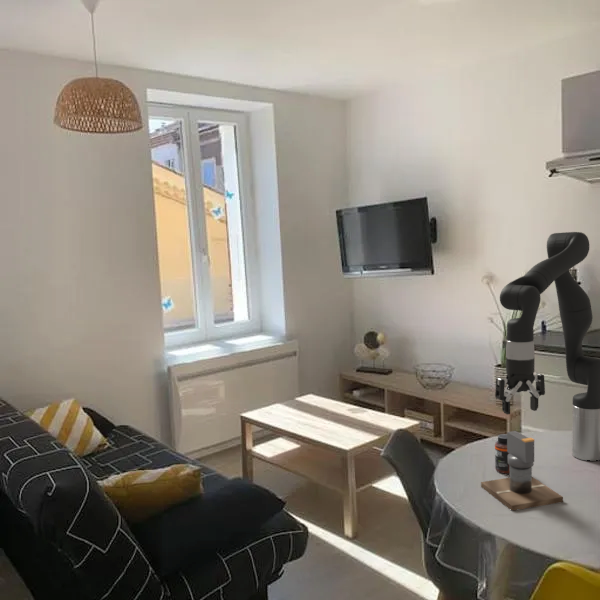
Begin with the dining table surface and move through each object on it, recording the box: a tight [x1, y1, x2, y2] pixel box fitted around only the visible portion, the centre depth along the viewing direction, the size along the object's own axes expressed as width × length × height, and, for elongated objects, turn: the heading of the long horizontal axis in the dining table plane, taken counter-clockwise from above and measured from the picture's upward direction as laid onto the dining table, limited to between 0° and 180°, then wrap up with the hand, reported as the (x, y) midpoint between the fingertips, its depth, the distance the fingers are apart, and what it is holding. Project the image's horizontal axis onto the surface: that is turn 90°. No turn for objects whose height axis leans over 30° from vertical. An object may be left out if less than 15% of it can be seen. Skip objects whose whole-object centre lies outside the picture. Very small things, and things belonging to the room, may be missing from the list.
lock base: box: [480, 465, 564, 511], centre depth 173 cm, size 16×16×9 cm
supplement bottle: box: [494, 433, 510, 474], centre depth 190 cm, size 6×6×11 cm
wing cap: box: [506, 430, 535, 468], centre depth 172 cm, size 9×7×8 cm
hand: (520, 411), depth 171 cm, fingers open, 8 cm apart
